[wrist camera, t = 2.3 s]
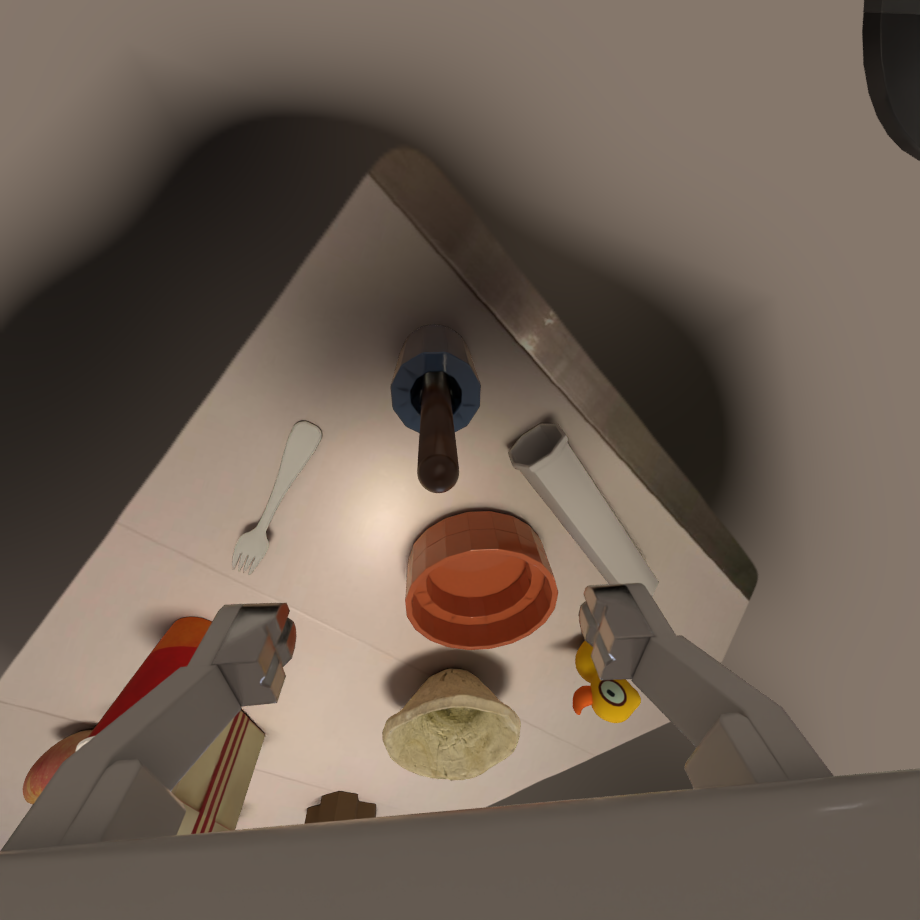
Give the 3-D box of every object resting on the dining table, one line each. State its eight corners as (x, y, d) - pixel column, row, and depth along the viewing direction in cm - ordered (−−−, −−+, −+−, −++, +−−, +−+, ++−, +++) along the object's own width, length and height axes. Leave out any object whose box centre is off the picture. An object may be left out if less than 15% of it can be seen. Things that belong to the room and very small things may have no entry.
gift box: (196, 758, 62) (124, 920, 48) (116, 705, 53) (-6, 887, 38) (291, 739, 61) (246, 899, 46) (226, 681, 52) (143, 859, 37)
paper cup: (211, 657, 49) (140, 795, 37) (150, 633, 45) (50, 776, 33) (244, 628, 46) (178, 766, 34) (181, 601, 43) (85, 743, 31)
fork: (332, 421, 35) (326, 432, 33) (254, 575, 42) (244, 594, 39) (303, 407, 34) (295, 417, 32) (228, 567, 41) (216, 586, 38)
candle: (302, 792, 72) (274, 913, 60) (374, 789, 74) (361, 906, 61) (311, 818, 79) (288, 930, 67) (376, 814, 81) (366, 924, 68)
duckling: (553, 655, 53) (576, 735, 45) (555, 632, 51) (580, 713, 42) (631, 647, 54) (669, 725, 45) (638, 624, 51) (679, 702, 42)
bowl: (429, 680, 63) (355, 731, 51) (492, 629, 54) (421, 677, 43) (476, 769, 57) (404, 849, 45) (555, 728, 48) (491, 813, 37)
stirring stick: (446, 350, 29) (460, 464, 15) (446, 373, 30) (460, 500, 16) (423, 351, 29) (415, 466, 15) (424, 373, 30) (417, 502, 16)
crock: (470, 324, 29) (481, 351, 22) (468, 392, 32) (478, 435, 25) (397, 324, 29) (387, 352, 22) (403, 393, 32) (395, 437, 25)
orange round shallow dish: (550, 504, 39) (568, 545, 34) (534, 600, 47) (547, 645, 42) (404, 510, 38) (400, 553, 33) (413, 606, 46) (410, 653, 41)
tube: (675, 589, 41) (576, 431, 30) (640, 622, 41) (527, 476, 30) (639, 562, 46) (541, 416, 34) (608, 591, 46) (499, 455, 34)
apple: (49, 732, 55) (-5, 802, 48) (89, 714, 54) (38, 784, 47) (104, 752, 60) (61, 820, 53) (143, 736, 58) (104, 804, 51)
